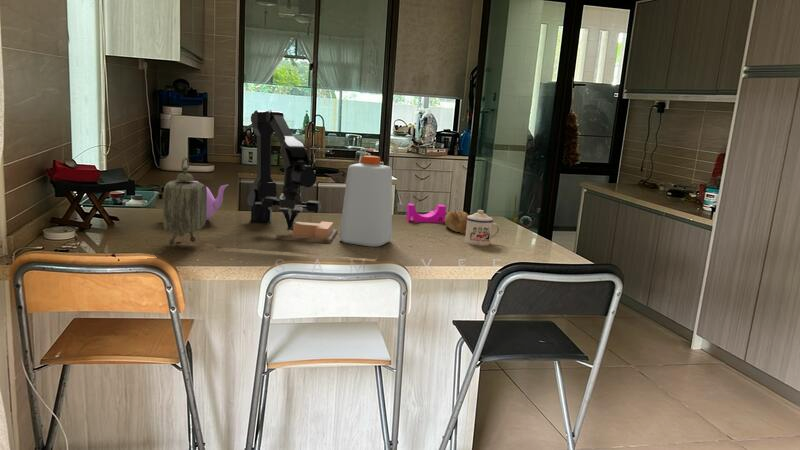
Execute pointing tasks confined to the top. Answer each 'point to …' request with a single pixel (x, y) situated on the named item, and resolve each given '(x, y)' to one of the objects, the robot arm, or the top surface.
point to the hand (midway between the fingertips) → (290, 229)
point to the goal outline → (308, 239)
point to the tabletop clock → (184, 205)
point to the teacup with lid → (479, 229)
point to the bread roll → (456, 221)
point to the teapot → (213, 201)
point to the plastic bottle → (367, 204)
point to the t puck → (313, 229)
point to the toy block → (432, 216)
